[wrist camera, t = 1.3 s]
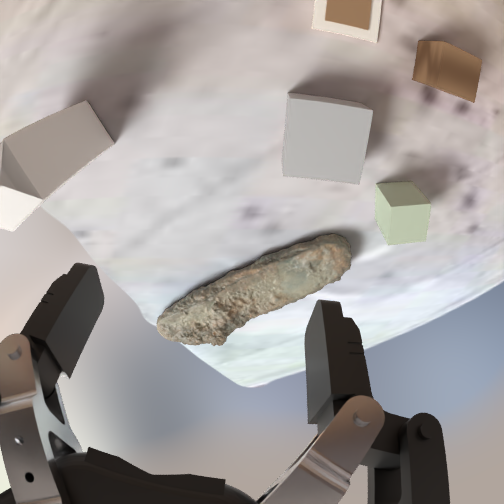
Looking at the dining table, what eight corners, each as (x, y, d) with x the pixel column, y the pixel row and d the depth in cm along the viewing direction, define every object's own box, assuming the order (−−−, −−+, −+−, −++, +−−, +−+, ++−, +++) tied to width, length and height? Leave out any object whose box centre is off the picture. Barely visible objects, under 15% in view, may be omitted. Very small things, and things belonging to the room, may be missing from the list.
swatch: (317, -27, 20) (318, -28, 19) (381, -11, 20) (383, -12, 19) (311, 28, 24) (312, 28, 24) (375, 43, 24) (377, 43, 24)
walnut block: (418, 40, 23) (444, 41, 18) (453, 55, 23) (482, 60, 18) (412, 79, 26) (436, 86, 21) (446, 92, 26) (474, 102, 21)
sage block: (375, 183, 34) (391, 206, 30) (411, 181, 34) (431, 203, 29) (374, 218, 37) (387, 245, 32) (408, 215, 36) (425, 241, 32)
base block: (287, 92, 29) (290, 98, 25) (359, 102, 29) (373, 110, 25) (281, 159, 34) (282, 176, 30) (349, 167, 34) (359, 184, 30)
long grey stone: (359, 260, 43) (330, 207, 39) (368, 282, 39) (337, 226, 35) (183, 343, 55) (146, 309, 51) (178, 364, 51) (137, 331, 47)
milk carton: (115, 143, 33) (16, 225, 18) (81, 170, 35) (-10, 256, 20) (87, 99, 29) (-29, 156, 14) (55, 130, 32) (-49, 199, 16)
